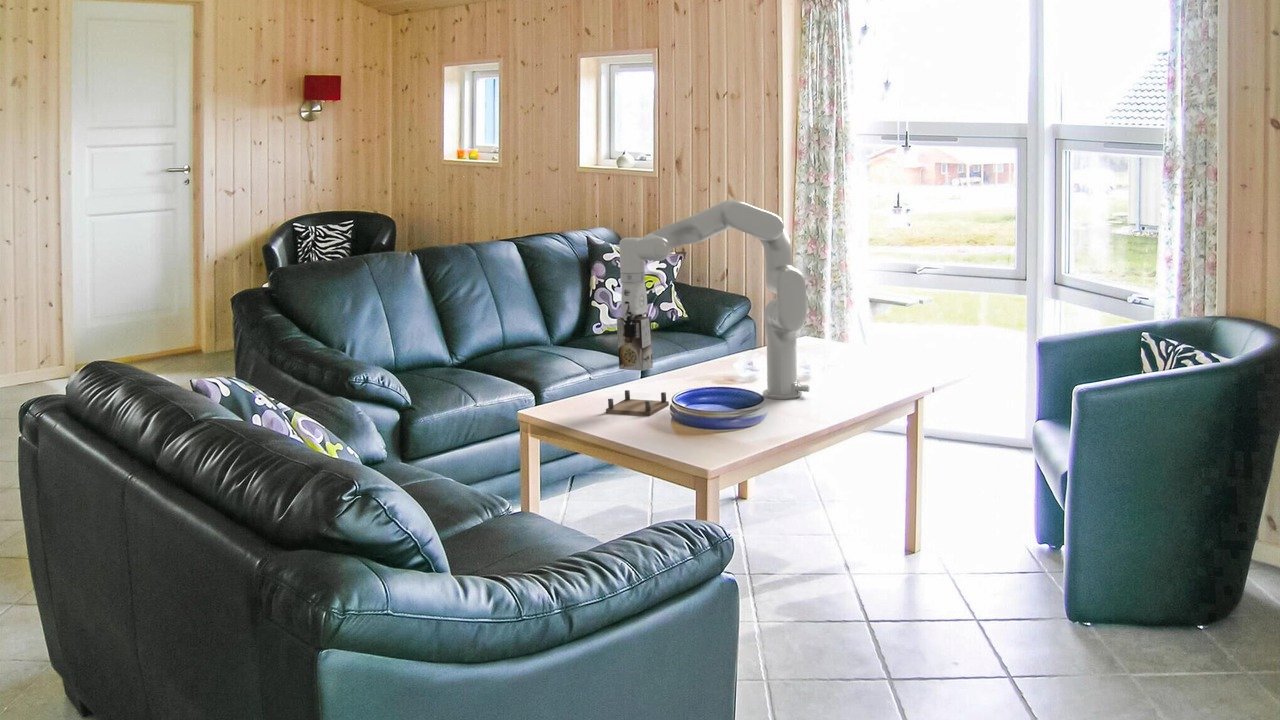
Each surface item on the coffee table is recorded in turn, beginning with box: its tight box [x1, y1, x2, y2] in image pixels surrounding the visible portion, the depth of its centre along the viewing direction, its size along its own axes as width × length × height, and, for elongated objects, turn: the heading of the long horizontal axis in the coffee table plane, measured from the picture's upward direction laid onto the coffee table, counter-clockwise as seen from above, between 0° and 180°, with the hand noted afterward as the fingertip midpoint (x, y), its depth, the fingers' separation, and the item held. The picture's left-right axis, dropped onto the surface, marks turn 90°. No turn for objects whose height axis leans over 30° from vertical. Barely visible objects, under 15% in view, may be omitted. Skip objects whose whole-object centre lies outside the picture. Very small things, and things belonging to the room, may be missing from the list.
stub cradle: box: [605, 389, 670, 417], centre depth 379 cm, size 15×15×4 cm
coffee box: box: [616, 316, 654, 372], centre depth 375 cm, size 9×6×16 cm
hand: (634, 334), depth 375 cm, fingers closed on coffee box, 6 cm apart
